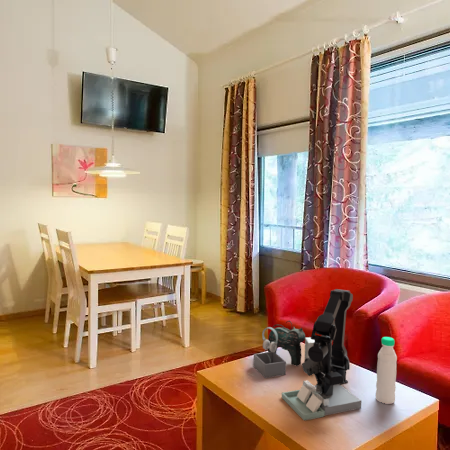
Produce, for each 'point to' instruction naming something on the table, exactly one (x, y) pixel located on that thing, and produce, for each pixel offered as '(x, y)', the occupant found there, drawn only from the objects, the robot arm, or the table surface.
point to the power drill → (289, 342)
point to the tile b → (314, 403)
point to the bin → (301, 406)
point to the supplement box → (308, 345)
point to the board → (340, 401)
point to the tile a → (304, 394)
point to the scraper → (319, 391)
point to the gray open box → (266, 369)
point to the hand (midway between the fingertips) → (322, 391)
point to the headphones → (267, 343)
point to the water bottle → (386, 372)
